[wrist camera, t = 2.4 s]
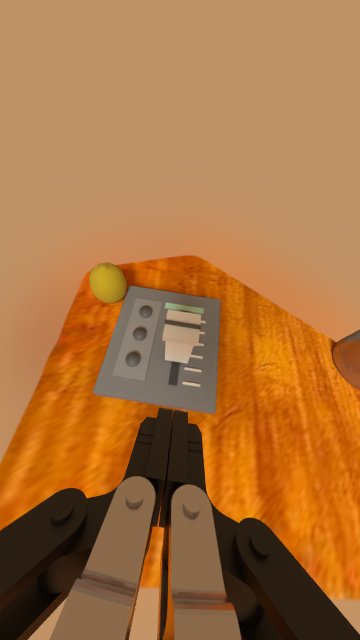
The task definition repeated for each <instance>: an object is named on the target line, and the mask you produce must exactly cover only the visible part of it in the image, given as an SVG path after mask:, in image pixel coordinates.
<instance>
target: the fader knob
mask: <svg viewBox="0 0 360 640" xmlns="http://www.w3.org/2000/svg"><path fill="white" fill-rule="evenodd" d="M200 323H201V315H199V314H193V313H187V312H181V311H174V310H168V312H167V317H166V319H165V326H164V331H163V336H162V340H163V341H166V342H165V360H168V361H175V362H181V363H188V360H189V358H190V355H191V352H192V349H193V346H197V345H198V342H199V333H200V329H201V325H200Z"/></svg>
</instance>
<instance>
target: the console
mask: <svg viewBox="0 0 360 640" xmlns="http://www.w3.org/2000/svg"><path fill="white" fill-rule="evenodd" d="M220 303H221V300H218V299H212V298H205V297H199V296H193V295H187V294H180V293H174V292H168V291H162V290H155V289H149V288H143V287H137V286H129V289H128V292H127V295H126V298H125V300H124V303H123V306H122V309H121V312H120V315H119V318H118V321H117V324H116V326H115V329H114V332H113V335H112V338H111V341H110V344H109V347H108V350H107V352H106V355H105V358H104V361H103V364H102V367H101V370H100V373H99V376H98V378H97V381H96V384H95V387H94V390H93V393H94V394H96V395H99V396H105V397H111V398H117V399H123V400H130V401H136V402H142V403H148V404H154V405H160V406H167V407H173V408H179V409H185V410H191V411H197V412H204V413H210V414H213V413H215V412H216V391H217V369H218V347H219V325H220ZM168 310H174V311H181V312H187V313H193V314H199V315H201V323H200V325H201V329H200V333H199V342H198V345H197V346H193V349H192V352H191V355H190V358H189V360H188V363H181V362H175V361H168V360H165V342H166V341H163V340H162V336H163V331H164V326H165V319H166V317H167V312H168Z"/></svg>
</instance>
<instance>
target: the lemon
mask: <svg viewBox="0 0 360 640" xmlns="http://www.w3.org/2000/svg"><path fill="white" fill-rule="evenodd" d="M89 279H90V287H91V289H92V292H93V294H94V295H95V296H96V297H97V298H98V299H99V300H101V301H102V302H105V303H116V302H118V301H120V300H121V299H122V298H123V297H124V296H125V294H126V291H127V281H126V278H125V276H124V274H123V272H122V271H121V270H120V268H119V267H117V266H116V265H114V264H111V263H101V264H98V265H97V266H95V268H93V269H92V271H91V273H90V278H89Z"/></svg>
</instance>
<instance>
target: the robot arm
mask: <svg viewBox="0 0 360 640" xmlns="http://www.w3.org/2000/svg"><path fill="white" fill-rule="evenodd" d="M333 359H334V362H335V365H336V367H337V369H338V370H339V372H340V373H341V375H342V376H343V377H344V378H345V379H346V380H347V381H348V382H349V383H351V384H352V385H353V386H355V387H356V388H358V389H360V330H358V331H356V332H355V333H353V334H351V335H349V336H347V337H345V338H343V339H342V340H340V341H338V342H337V343H336V344H335V346H334V348H333ZM172 413H173V418H172ZM161 501H162V502H161ZM160 507H161V511H160ZM159 512H160V520H159V527H164V538H163V547H162V552H161V561H160V585H159V609H158V610H159V611H158V633H157V640H360V635H359V633H358V632H357V631H356V630H355V629H354V627H353V626H352V625H351V624H350V623H349V621H348V620H347V619H346V618H345V617H344V616H343V615H342V613H341V612H340V611H339V610H338V608H337V607H336V606H335V605H334V604H333V603H332V601H331V600H330V599H329V598H328V597H327V595H326V594H325V593H324V592H323V591H322V590H321V588H320V587H319V586H318V585H317V584H316V582H315V581H314V580H313V579H312V578H311V577H310V575H309V574H308V573H307V572H306V571H305V569H304V568H303V567H302V566H301V565H300V564H299V562H298V561H297V560H296V559H295V558H294V556H293V555H292V554H291V553H290V552H289V551H288V549H287V548H286V547H285V546H284V545H283V543H282V542H281V541H280V540H279V539H278V538H277V536H276V535H275V534H274V533H273V532H272V530H271V529H270V528H269V527H268V526H267V525H265V524H264V523H263V522H261V521H260V520H258V519H255V518H245V519H243V520H242V521H241V522H240V523H238V522H236V521H234V520H232V519H231V518H229V517H227V516H225V515H224V514H222V513H221V512H219V511H218V510H217V509H216V508H215V507H214V505H213V504H212V503H211V501H210V499H209V497H208V495H207V491H206V484H205V472H204V459H203V447H202V434H201V432H200V430H199V428H198V426H197V425H196V424H189V423H188V412H184V411H178V410H174V412H173V410H171V409H165V408H159V411H158V416H157V418H152V417H146V419H145V420H144V421H143V422H142V423H141V424H140V428H139V431H138V435H137V438H136V441H135V444H134V447H133V451H132V454H131V457H130V460H129V464H128V467H127V470H126V474H125V476H124V478H123V480H122V482H121V483H120V484H119V485H118V487H117V488H115V489H114V490H113V491H111V492H109V493H107V494H104V495H101V496H96V497H91V498H86V496H85V494H84V493H83V492H82V491H81V490H79V489H75V488H68V489H64V490H61V491H59V492H57V493H55V494H54V495H52V496H51V497H49V498H48V499H46V500H45V501H43V502H42V503H40V504H39V505H37V506H36V507H34V508H33V509H32V510H30V511H29V512H27V513H26V514H24V515H23V516H21V517H20V518H18V519H17V520H15V521H14V522H12V523H11V524H9V525H8V526H7V527H5V528H4V529H2V530H1V531H0V640H28V639H29V638H30V636H31V635H32V634H33V633H34V632H35V631H36V630H37V629H38V628H39V627H40V625H42V623H43V622H44V621H45V620H46V619H47V618H48V617H49V616H50V615H51V614H52V613H53V612H54V611H55V610H56V608H57V607H58V606H59V605H60V604H61V603H62V602H63V601H64V600H65V599H66V598H67V600H66V602H65V604H64V607H63V609H62V611H61V614H60V616H59V619H58V621H57V624H56V626H55V629H54V631H53V633H52V635H51V638H50V640H129V635H130V631H131V626H132V621H133V616H134V611H135V606H136V600H137V596H138V591H139V586H140V582H141V577H142V572H143V567H144V562H145V557H146V554H147V552H148V549H149V545H150V539H151V533H152V527H153V526H157V523H158V518H159Z"/></svg>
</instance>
